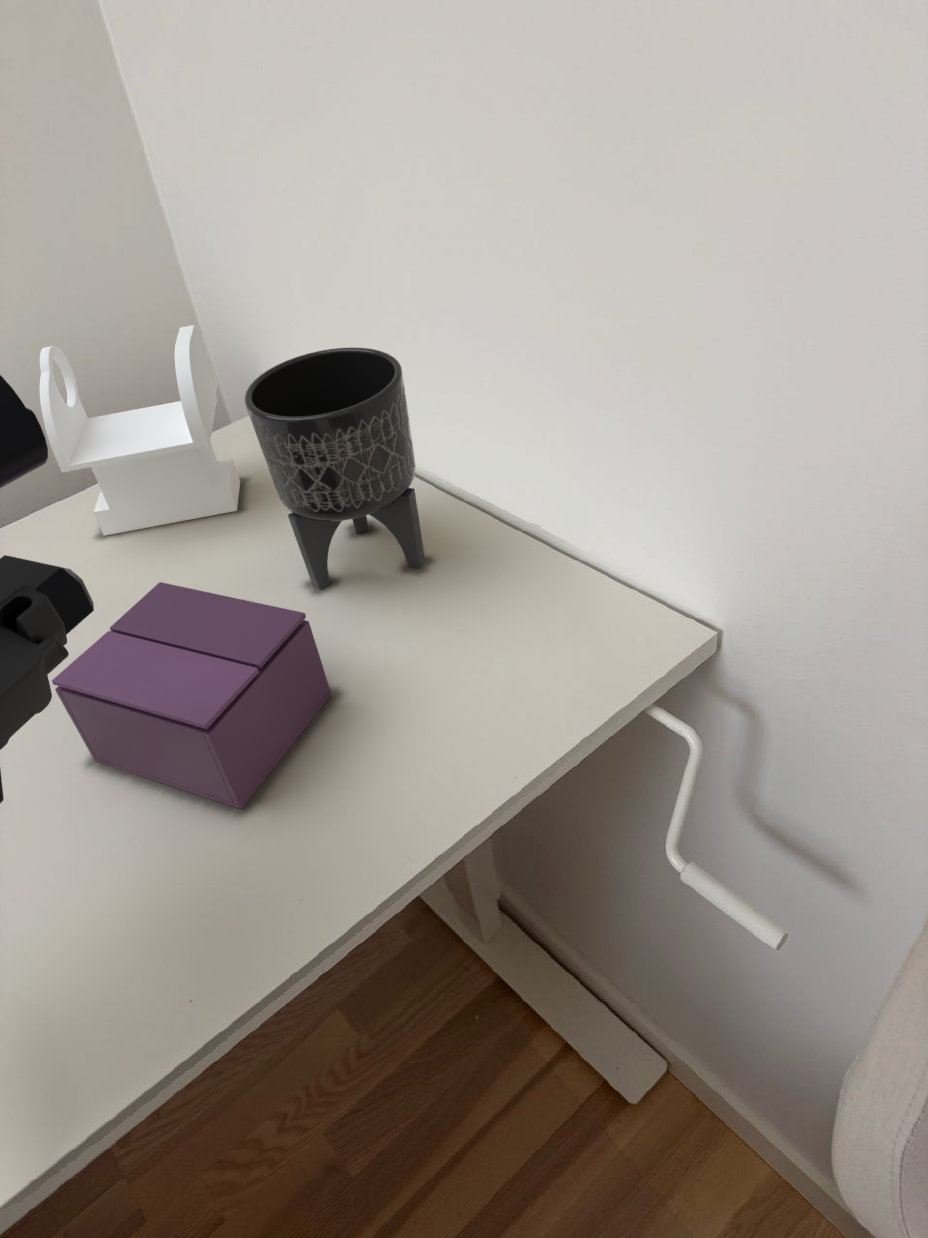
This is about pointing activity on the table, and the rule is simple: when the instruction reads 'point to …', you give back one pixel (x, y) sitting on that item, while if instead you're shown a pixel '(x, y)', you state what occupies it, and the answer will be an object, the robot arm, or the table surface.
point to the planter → (338, 448)
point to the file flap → (157, 678)
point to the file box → (246, 730)
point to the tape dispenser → (145, 445)
